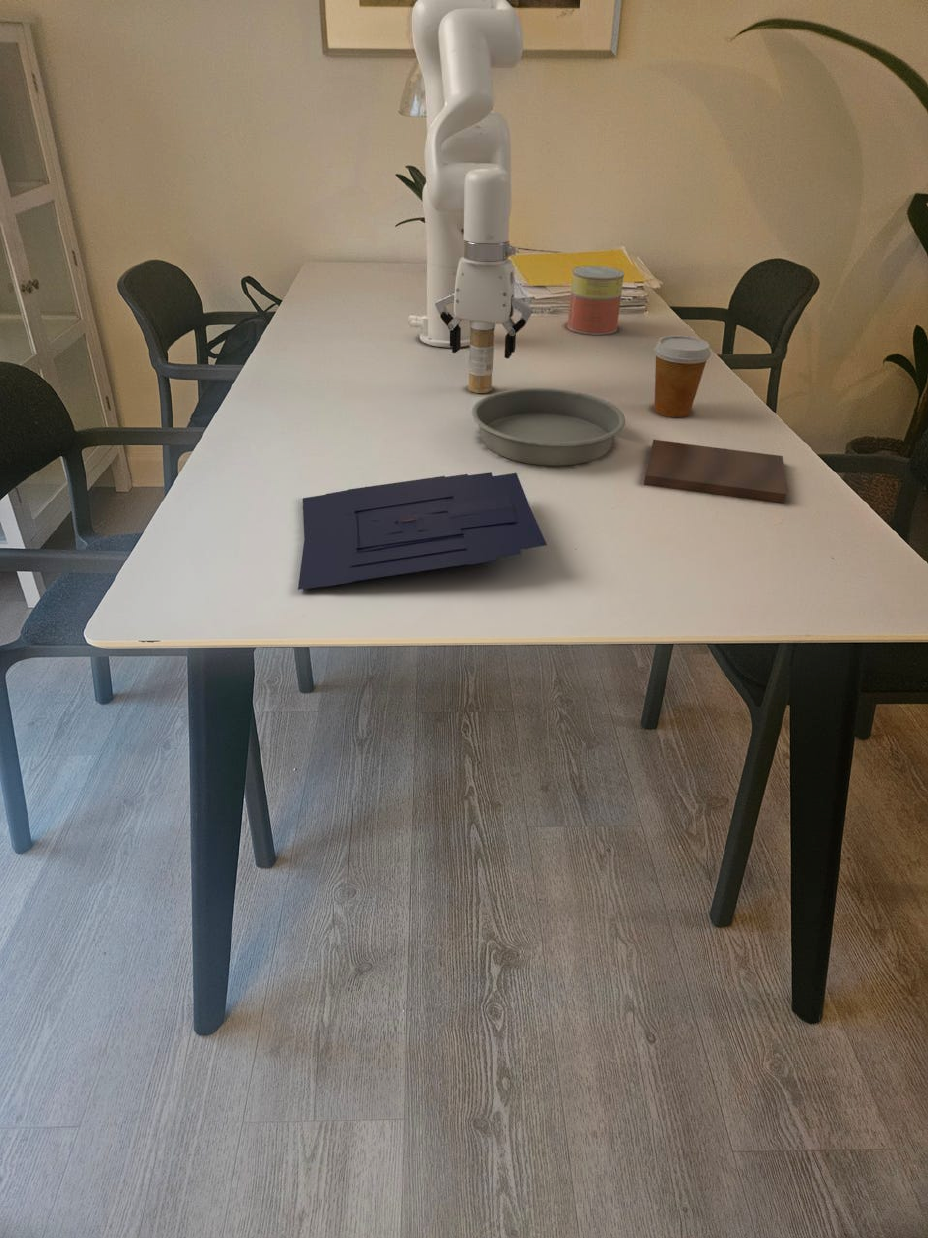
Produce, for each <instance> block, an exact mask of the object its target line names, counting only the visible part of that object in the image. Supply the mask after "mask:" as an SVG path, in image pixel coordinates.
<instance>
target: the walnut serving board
mask: <svg viewBox="0 0 928 1238" xmlns="http://www.w3.org/2000/svg"><path fill="white" fill-rule="evenodd" d="M651 443H652V444H651V448H650V453H649V455H648V456H649V457H648V461H647V466H646V470H645V473H644V480H643V485H647V486H653V487H661V488H669V489H676V490H683V491H691V492H697V493H705V494H713V495H719V496H727V497H733V498H742V499H749V500H756V501H764V502H770V503H778V504H784V503H785V501H786V497H787V488H786V475H785V464H784V455H777V454H771V453H762V452H754V451H746V450H738V449H731V448H722V447H717V446H716V447H715V446H706V445H699V444H692V443H683V442H675V441H668V440H667V441H666V440H659V439H653V440H652V442H651Z"/></svg>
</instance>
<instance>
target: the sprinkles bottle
mask: <svg viewBox="0 0 928 1238" xmlns="http://www.w3.org/2000/svg"><path fill="white" fill-rule="evenodd" d="M495 329H496V323H486V322H481V321H470V345H469V352H468V353H469V355H468V386H467V389H468V390H469V391H470V392H472V393H475V394H485V393H490V392H491V391H492V390H493V373H494V353H495V348H494V347H495V344H494V342H495Z"/></svg>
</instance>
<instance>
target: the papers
mask: <svg viewBox="0 0 928 1238" xmlns="http://www.w3.org/2000/svg"><path fill="white" fill-rule="evenodd" d="M302 520H303V546H302V555H301V563H300V571H299V578H298V586H297V590H298V591H299V590H307V589H314V588H324V587H332V586H338V585H343V584H349V583H356V582H358V581H364V580H371V579H379V578H385V577H391V576H397V575H403V574H411V573H418V572H424V571H430V570H437V569H443V568H451V567H457V566H462V567H464V566H469V565H474V564H482V563H488V562H494V561H495V560H496V559H501V558H508V557H515V556H519V555H523V553H522V550H528V549H533V548H540V547H545V546H548V544H547V541H546V539H545V537H544V534H543V533H542V530H541V528H540V526H539V524H538V522H537V519H536V517H535V515H534V513H533V510H532V509H531V506H530V504H529V500H528V498H527V496H526V494H525V490H524V489H523V485H522V483H521V481H520V478H519V476H518V473H517V472H512V473H505V474H504V473H503V474H498V475H493V472H492V471H490V472H482V473H473V474H468V473H464V474H463V473H462V474H456V475H449V476H445V475H439V476H434V477H425V478H419V479H413V480H406V481H399V482H392V483H390V482H389V483H383V484H378V485H371V486H364V487H356V488H349V489H347V490H341V491H335V492H330V493H325V494H322V495H315V496H309V497H308V496H307V497H303V498H302Z"/></svg>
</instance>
